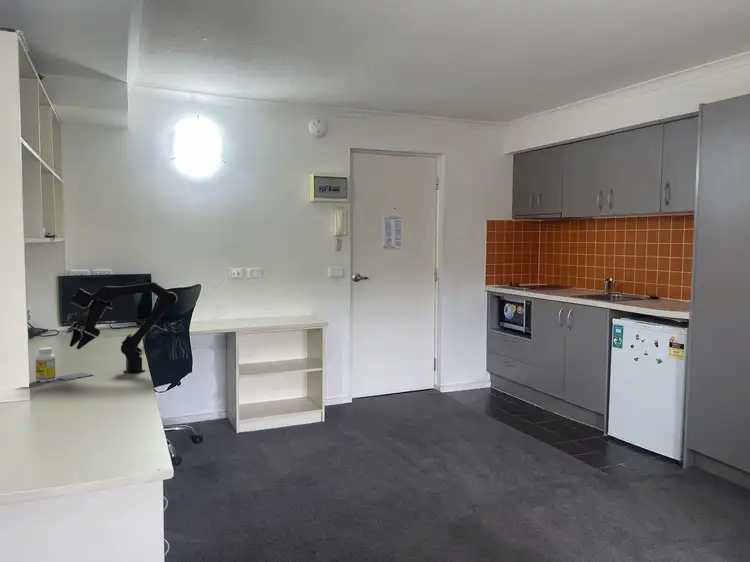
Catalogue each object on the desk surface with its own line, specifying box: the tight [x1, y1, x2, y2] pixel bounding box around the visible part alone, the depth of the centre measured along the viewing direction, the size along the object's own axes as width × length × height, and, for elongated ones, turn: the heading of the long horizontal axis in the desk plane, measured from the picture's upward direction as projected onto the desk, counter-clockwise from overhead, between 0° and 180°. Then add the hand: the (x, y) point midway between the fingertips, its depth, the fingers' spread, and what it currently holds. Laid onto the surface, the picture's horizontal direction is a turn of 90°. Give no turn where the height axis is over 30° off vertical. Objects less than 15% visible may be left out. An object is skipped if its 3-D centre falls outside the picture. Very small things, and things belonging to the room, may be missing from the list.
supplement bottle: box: [35, 347, 56, 383], centre depth 219 cm, size 7×7×13 cm
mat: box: [55, 372, 94, 381], centre depth 227 cm, size 8×12×1 cm, turn 149°
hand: (73, 347), depth 227 cm, fingers open, 9 cm apart
